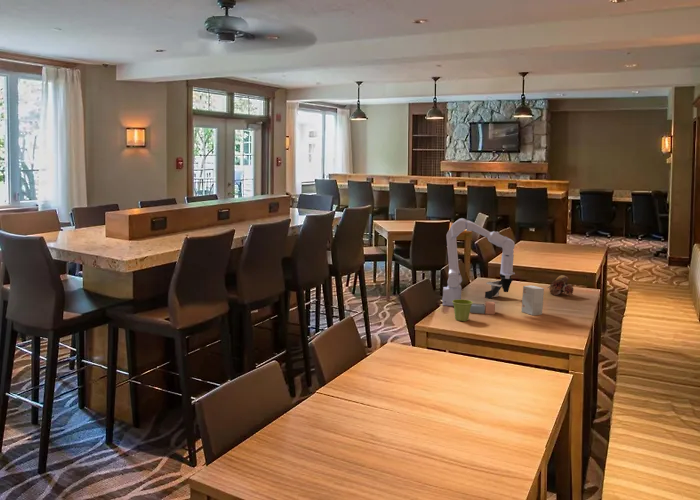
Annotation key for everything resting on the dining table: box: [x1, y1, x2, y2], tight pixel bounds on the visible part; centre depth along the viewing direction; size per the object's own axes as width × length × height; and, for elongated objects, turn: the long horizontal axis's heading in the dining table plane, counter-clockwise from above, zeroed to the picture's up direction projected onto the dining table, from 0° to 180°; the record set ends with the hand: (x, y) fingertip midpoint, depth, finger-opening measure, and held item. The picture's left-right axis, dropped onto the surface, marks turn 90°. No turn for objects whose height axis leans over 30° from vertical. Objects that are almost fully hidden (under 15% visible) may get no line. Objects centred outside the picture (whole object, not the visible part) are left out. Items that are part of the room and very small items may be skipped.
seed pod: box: [546, 274, 574, 296], centre depth 344 cm, size 13×16×15 cm
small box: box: [521, 285, 545, 316], centre depth 301 cm, size 8×6×13 cm
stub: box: [484, 301, 496, 315], centre depth 300 cm, size 4×5×5 cm
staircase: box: [484, 276, 512, 299], centre depth 332 cm, size 9×10×12 cm
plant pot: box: [452, 298, 473, 322], centre depth 286 cm, size 9×9×9 cm
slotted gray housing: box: [470, 303, 485, 314], centre depth 301 cm, size 8×5×4 cm, turn 80°
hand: (505, 290), depth 306 cm, fingers open, 7 cm apart
